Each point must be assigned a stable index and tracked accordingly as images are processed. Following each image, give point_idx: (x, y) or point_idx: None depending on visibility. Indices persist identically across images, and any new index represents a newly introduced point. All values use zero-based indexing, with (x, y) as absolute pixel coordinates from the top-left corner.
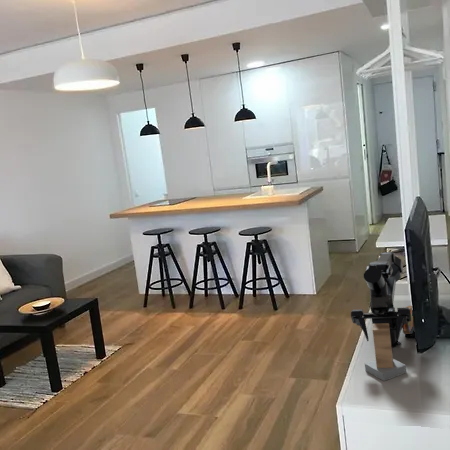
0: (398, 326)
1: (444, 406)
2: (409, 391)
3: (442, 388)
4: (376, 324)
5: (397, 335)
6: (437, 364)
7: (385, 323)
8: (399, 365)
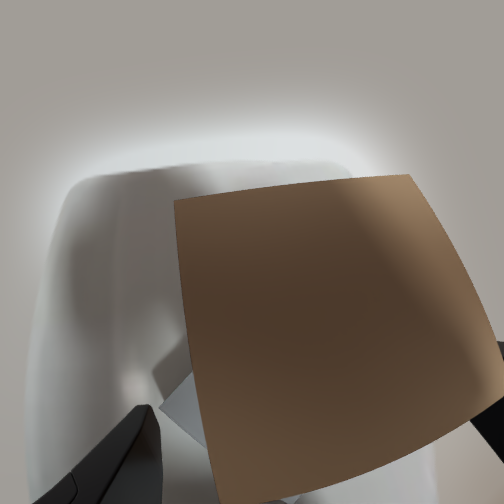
0: (75, 495)
1: (65, 202)
2: (148, 254)
3: (45, 292)
4: (460, 378)
5: (131, 424)
6: (51, 484)
7: (303, 479)
8: (190, 398)
